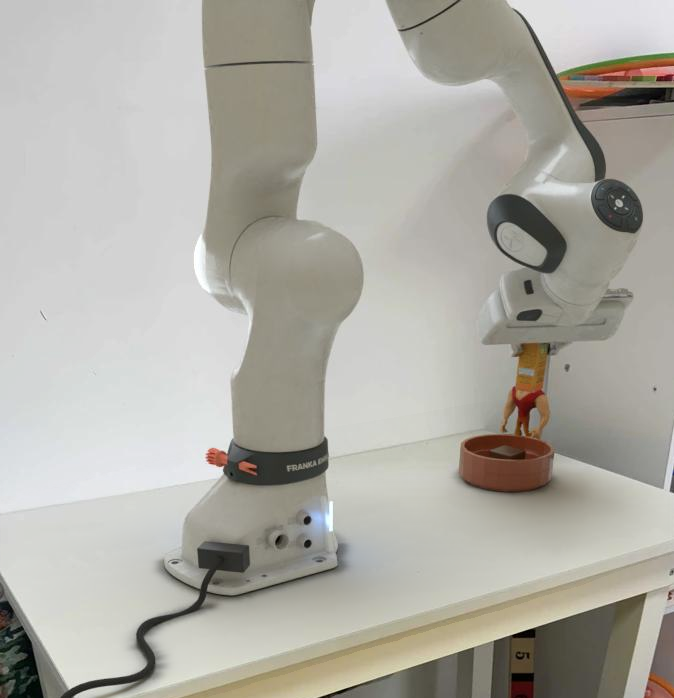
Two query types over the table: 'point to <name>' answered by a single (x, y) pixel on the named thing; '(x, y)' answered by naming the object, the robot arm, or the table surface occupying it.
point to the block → (507, 453)
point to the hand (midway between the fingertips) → (531, 352)
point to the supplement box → (531, 367)
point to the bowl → (506, 463)
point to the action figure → (526, 411)
